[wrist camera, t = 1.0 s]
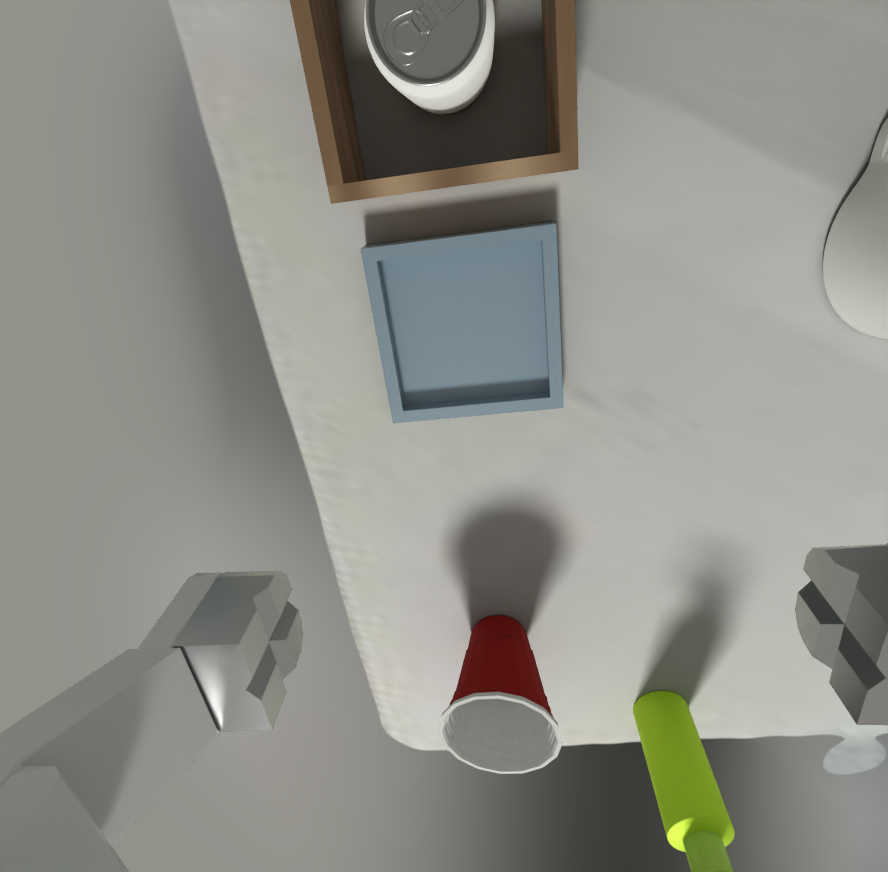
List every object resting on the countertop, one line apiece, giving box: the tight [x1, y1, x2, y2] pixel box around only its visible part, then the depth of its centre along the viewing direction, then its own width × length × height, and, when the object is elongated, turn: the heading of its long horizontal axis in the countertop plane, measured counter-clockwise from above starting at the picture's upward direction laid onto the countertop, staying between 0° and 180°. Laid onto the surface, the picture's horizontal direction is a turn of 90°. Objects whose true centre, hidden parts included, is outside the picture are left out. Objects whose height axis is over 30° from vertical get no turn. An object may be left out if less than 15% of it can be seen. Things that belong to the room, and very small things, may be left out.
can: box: [364, 0, 495, 114], centre depth 31 cm, size 6×6×12 cm
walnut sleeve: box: [290, 0, 578, 204], centre depth 33 cm, size 15×15×7 cm
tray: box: [361, 221, 563, 423], centre depth 43 cm, size 14×14×2 cm
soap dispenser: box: [633, 691, 734, 872], centre depth 53 cm, size 6×7×20 cm
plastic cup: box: [438, 615, 563, 774], centre depth 53 cm, size 11×11×12 cm
